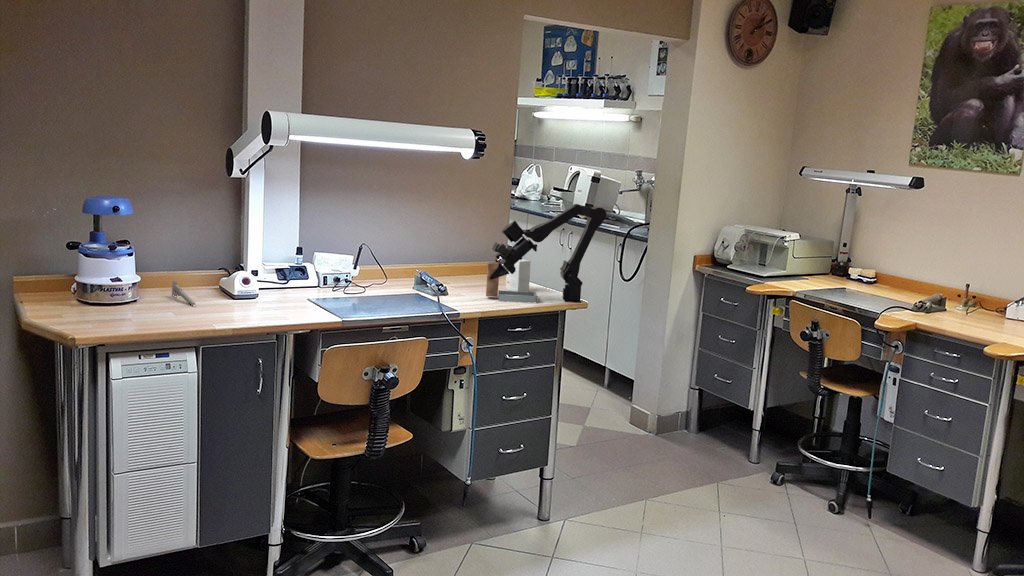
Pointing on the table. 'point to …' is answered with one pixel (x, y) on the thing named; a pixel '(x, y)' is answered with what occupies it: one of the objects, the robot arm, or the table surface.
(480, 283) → the table surface
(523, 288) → the small box
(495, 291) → the walnut block
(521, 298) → the channel
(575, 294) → the robot arm
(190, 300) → the caliper
